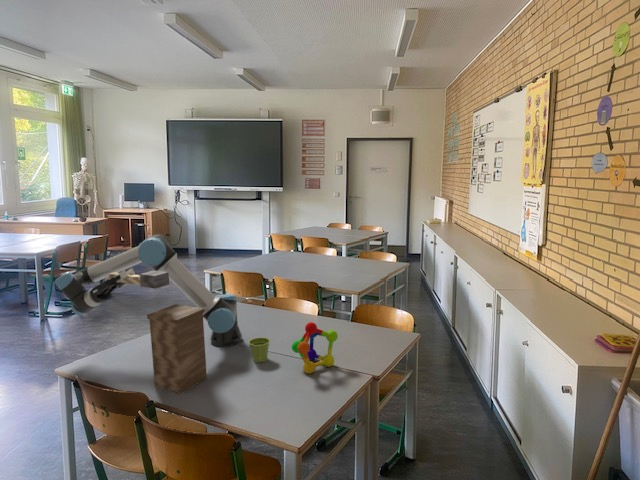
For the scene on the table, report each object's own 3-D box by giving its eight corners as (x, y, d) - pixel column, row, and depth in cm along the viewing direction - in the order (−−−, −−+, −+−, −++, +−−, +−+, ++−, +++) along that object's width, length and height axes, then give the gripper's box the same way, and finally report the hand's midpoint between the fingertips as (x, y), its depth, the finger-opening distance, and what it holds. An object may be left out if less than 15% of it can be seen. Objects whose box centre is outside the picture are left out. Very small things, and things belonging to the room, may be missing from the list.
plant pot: (245, 362, 199) (244, 343, 198) (255, 354, 208) (254, 336, 207) (264, 365, 196) (264, 346, 195) (274, 357, 205) (273, 338, 204)
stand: (208, 377, 186) (204, 308, 181) (182, 394, 173) (177, 319, 168) (180, 371, 192) (175, 304, 188) (152, 386, 179) (147, 314, 175)
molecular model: (304, 379, 181) (302, 329, 180) (280, 371, 192) (277, 324, 191) (341, 365, 196) (339, 319, 194) (316, 357, 207) (314, 314, 205)
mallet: (169, 284, 182) (168, 272, 182) (155, 288, 176) (155, 275, 175) (119, 278, 195) (118, 266, 194) (105, 282, 188) (104, 270, 188)
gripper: (117, 297, 204) (148, 276, 193) (84, 308, 190) (116, 285, 179) (110, 282, 205) (141, 260, 194) (77, 291, 190) (108, 267, 180)
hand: (129, 272), depth 186 cm, fingers closed on mallet, 3 cm apart
